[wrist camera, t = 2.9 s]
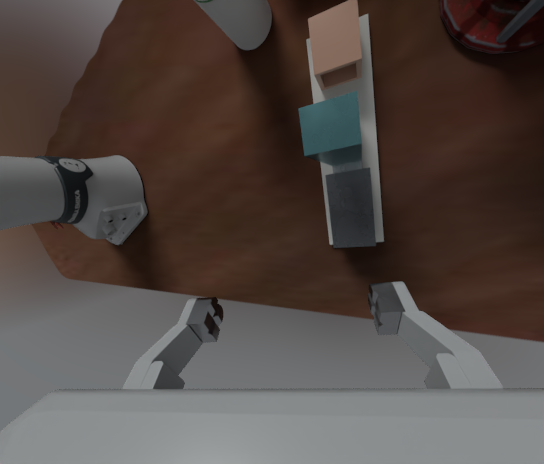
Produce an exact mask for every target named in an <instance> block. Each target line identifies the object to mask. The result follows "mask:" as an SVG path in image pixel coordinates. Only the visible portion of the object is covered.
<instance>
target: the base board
mask: <svg viewBox="0 0 544 464" xmlns="http://www.w3.org/2000/svg"><path fill="white" fill-rule="evenodd" d="M359 28H360V41H361V54H362V78H359V79H356V80H353V81H350V82H347V83H344V84H340V85H337V86H334V87H331V88H328V89H325V90H322V91H321V89H320V87H319V84H318V82H317V80H316V78H315V76H314V69H313V60H312V51H311V42H310V38H309V39H307V40H306V41H307V50H308V59H309V68H310V76H311V85H312V94H313V102H314V104H315V103H318V102H322V101H325V100H328V99H331V98H335V97H338V96H341V95H345V94H348V93H351V92H354V91H357V93H358V105H359V117H360V130H361V142H362V169H363V168H369V167H370V172H371V185H372V198H373V212H374V225H375V238H376V242H384V235H383V221H382V207H381V192H380V178H379V163H378V149H377V135H376V120H375V106H374V92H373V77H372V63H371V48H370V34H369V20H368V14H366V15H363V16H361V17H359ZM320 163H321V172H322V181H323V190H324V198H325V207H326V216H327V224H328V233H329V242H330V245H333V239H332V230H331V221H330V212H329V203H328V194H327V185H326V176H325V175H329V174H333V167H332V166H330V165H328V164H325V163H322V162H320Z"/></svg>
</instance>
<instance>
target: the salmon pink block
mask: <svg viewBox="0 0 544 464" xmlns="http://www.w3.org/2000/svg"><path fill="white" fill-rule="evenodd" d="M308 24H309V33H310V42H311V51H312V60H313V69H314V76H315V78H316V80H317V82H318V84H319V87H320V89H321V91H322V90H325V89H328V88H331V87H334V86H337V85H340V84H344V83H347V82H350V81H353V80H356V79H359V78H362V54H361V41H360V28H359V15H358V2H357V0H348V1H346V2H344V3H341V4H339V5H337V6H335V7H333V8H331V9H328V10H326V11H324V12H322V13H320V14H318V15H315V16H313V17H311V18H309V19H308Z"/></svg>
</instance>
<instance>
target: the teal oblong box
mask: <svg viewBox="0 0 544 464" xmlns="http://www.w3.org/2000/svg"><path fill="white" fill-rule="evenodd" d="M299 117H300V125H301V132H302V140H303V148H304V156H306V157H309V158H311V159H314V160H317V161H319V162H322V163H325V164H328V165H330V166H332V167H333V174H335V173H340V172H346V171H352V170H357V169H362V142H361V130H360V117H359V105H358V93H357V91H354V92H351V93H348V94H345V95H341V96H338V97H335V98H331V99H328V100H325V101H322V102H318V103H315V104H312V105H308V106H305V107H302V108H299Z"/></svg>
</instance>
